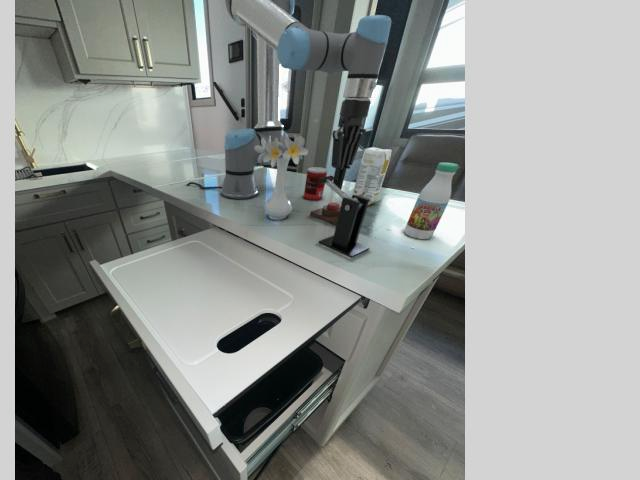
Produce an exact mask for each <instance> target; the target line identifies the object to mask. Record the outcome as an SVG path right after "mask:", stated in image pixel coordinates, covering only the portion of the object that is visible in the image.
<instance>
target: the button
mask: <svg viewBox="0 0 640 480" xmlns="http://www.w3.org/2000/svg"><path fill="white" fill-rule="evenodd" d="M327 205H328V207H327V209H329V210H338V208H339V207H340V204H339V203H338V202H333V201H332V202H328V203H327Z"/></svg>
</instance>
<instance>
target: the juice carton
mask: <svg viewBox="0 0 640 480" xmlns="http://www.w3.org/2000/svg"><path fill="white" fill-rule="evenodd" d="M392 152H393V151H392V149H385V148H379V147H375V146H374V147H373V146H372V147H368V148H365V149H364V151H363V154H362V157H361V161H360V165H359V168H358V172H357V175H356V176H357V177H356V180H355V183H354V187H353V190H352V195H358V196H361V197H365V198H369V199H370V200H369V203H368V206H371V205H373V204H375V203H376V202H377V200H378V197H379V196H380V192H381V191H382V190H381V189H382V186H383V183H384V180H385V177H386V174H387V171H388V167H389V165H390V162H391V158H392V157H391V156H392Z"/></svg>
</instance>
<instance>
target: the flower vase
mask: <svg viewBox="0 0 640 480" xmlns="http://www.w3.org/2000/svg"><path fill="white" fill-rule="evenodd" d="M287 137H288V136H286V135H283V136H282V137H281V140H280V142H278V138H275V140H274V142H272V143H271V142H270V136H269V139H268V143H266V142H265V140H264V138H262V139H261V145H262V146H263V147H262V146H255V147H254V149H255V151H256V152H258V153H261V154H260V155H259V157H258V163H261V162H262V161H263V162H267V163H269V161H270V160H271V164H270V166H271V168H274V167H275V165H276V178H275V186H274V191H273V193H272V195H271V196H270V197H269V198H268V200H267V201H266V202H265V205H264V211H265V212H266V213H267V215H268V218H270V219H271V220H273V221H280V220H282V219H286V218H287V216H289V214H290V213H291V212H292V210H293V206H292V203H291V200H289V198H288V197H287V192H286V183H287V182H286V181H287V170H288V165H289V163H290V160H291V158H292V162H293V163H294V164H295V165H299V163H300V160H303V156H305V157H309V150H308V149H307V148H306V147H304V146H305V144H306V143H305V142H306V140H305V137H303V136H302V135H298V136H297V134H296V133H294V135H293V141H292V140H291V139H290V138H289V137H288V138H289V139H288V138H287ZM276 160H277V163H276Z"/></svg>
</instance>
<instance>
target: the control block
mask: <svg viewBox="0 0 640 480" xmlns="http://www.w3.org/2000/svg"><path fill="white" fill-rule="evenodd" d="M327 207H328V204H326V205H323V206H322V207H321V208H317V209H314V210H311V211H310V212H309V217H312V218H315V219H316V220H320V221H322V222H325V223H328V224H330V225H333V226H335V227H336V225H337V220H338V216H339V212H340V208H341V206H339V208H338V210H329V209H327Z"/></svg>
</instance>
